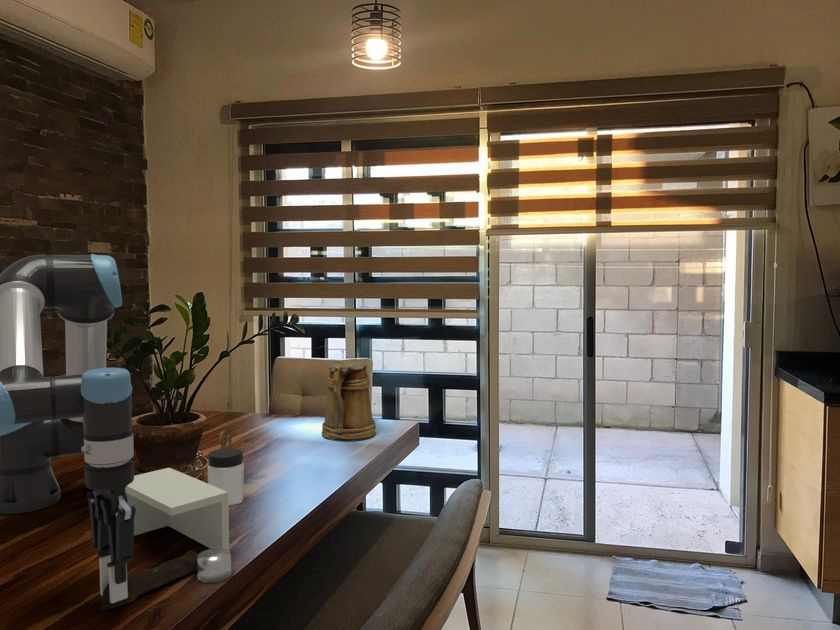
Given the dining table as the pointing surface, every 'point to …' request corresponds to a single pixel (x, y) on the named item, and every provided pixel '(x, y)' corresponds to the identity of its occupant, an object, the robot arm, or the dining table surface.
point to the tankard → (348, 402)
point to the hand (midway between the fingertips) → (114, 596)
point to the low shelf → (180, 506)
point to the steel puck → (214, 565)
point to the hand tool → (153, 579)
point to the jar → (227, 473)
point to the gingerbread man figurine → (225, 441)
